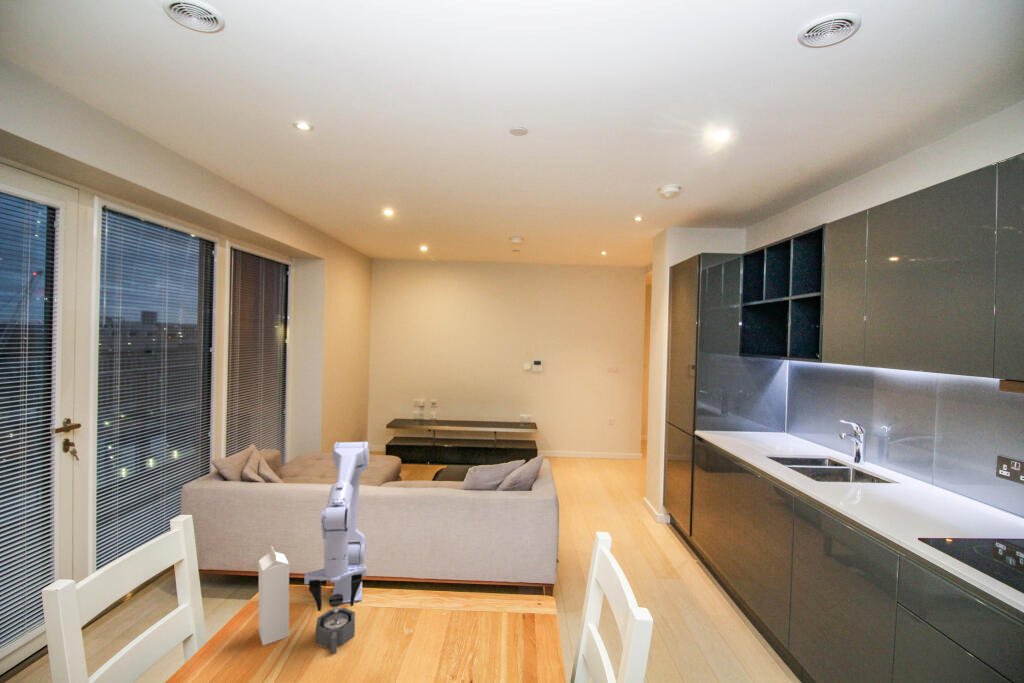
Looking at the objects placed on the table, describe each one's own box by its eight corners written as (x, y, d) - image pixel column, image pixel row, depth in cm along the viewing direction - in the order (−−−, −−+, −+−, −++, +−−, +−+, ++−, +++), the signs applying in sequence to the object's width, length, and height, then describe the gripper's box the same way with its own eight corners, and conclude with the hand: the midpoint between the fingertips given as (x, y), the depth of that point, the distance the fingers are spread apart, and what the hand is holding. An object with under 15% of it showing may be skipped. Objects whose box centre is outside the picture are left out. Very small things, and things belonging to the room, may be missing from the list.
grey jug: (318, 626, 122) (318, 611, 122) (355, 620, 125) (355, 606, 124) (313, 657, 111) (313, 640, 111) (353, 650, 114) (353, 634, 113)
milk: (262, 646, 114) (261, 558, 113) (258, 632, 119) (257, 548, 118) (289, 636, 118) (289, 551, 117) (284, 623, 123) (283, 541, 122)
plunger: (324, 617, 121) (324, 593, 121) (348, 613, 123) (349, 589, 122) (322, 632, 115) (322, 606, 115) (347, 628, 117) (347, 603, 117)
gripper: (302, 565, 112) (302, 620, 113) (366, 558, 116) (365, 611, 117) (306, 551, 119) (306, 603, 119) (366, 544, 123) (366, 595, 124)
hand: (336, 606), depth 119 cm, fingers open, 7 cm apart
